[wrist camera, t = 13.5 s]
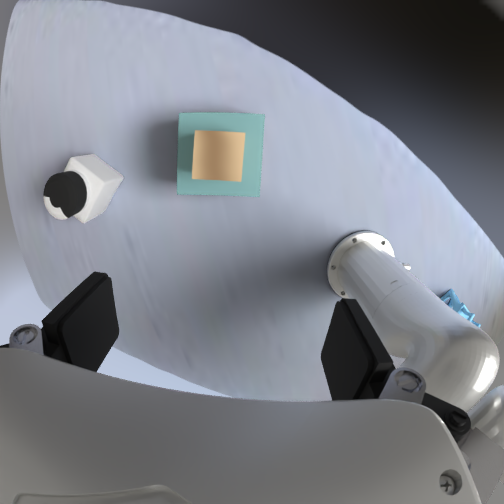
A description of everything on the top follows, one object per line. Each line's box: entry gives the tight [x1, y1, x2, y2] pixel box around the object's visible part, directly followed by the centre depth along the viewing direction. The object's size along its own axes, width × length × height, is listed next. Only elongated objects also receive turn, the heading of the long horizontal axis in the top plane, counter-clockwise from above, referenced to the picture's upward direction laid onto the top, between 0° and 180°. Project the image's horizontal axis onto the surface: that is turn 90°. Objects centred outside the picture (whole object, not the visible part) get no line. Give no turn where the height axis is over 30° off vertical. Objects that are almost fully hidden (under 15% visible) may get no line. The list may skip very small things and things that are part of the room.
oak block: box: [192, 130, 245, 182], centre depth 28 cm, size 5×5×5 cm
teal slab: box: [177, 112, 265, 197], centre depth 33 cm, size 10×10×4 cm
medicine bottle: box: [44, 154, 124, 224], centre depth 33 cm, size 7×7×12 cm
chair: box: [440, 289, 481, 327], centre depth 44 cm, size 8×8×12 cm
